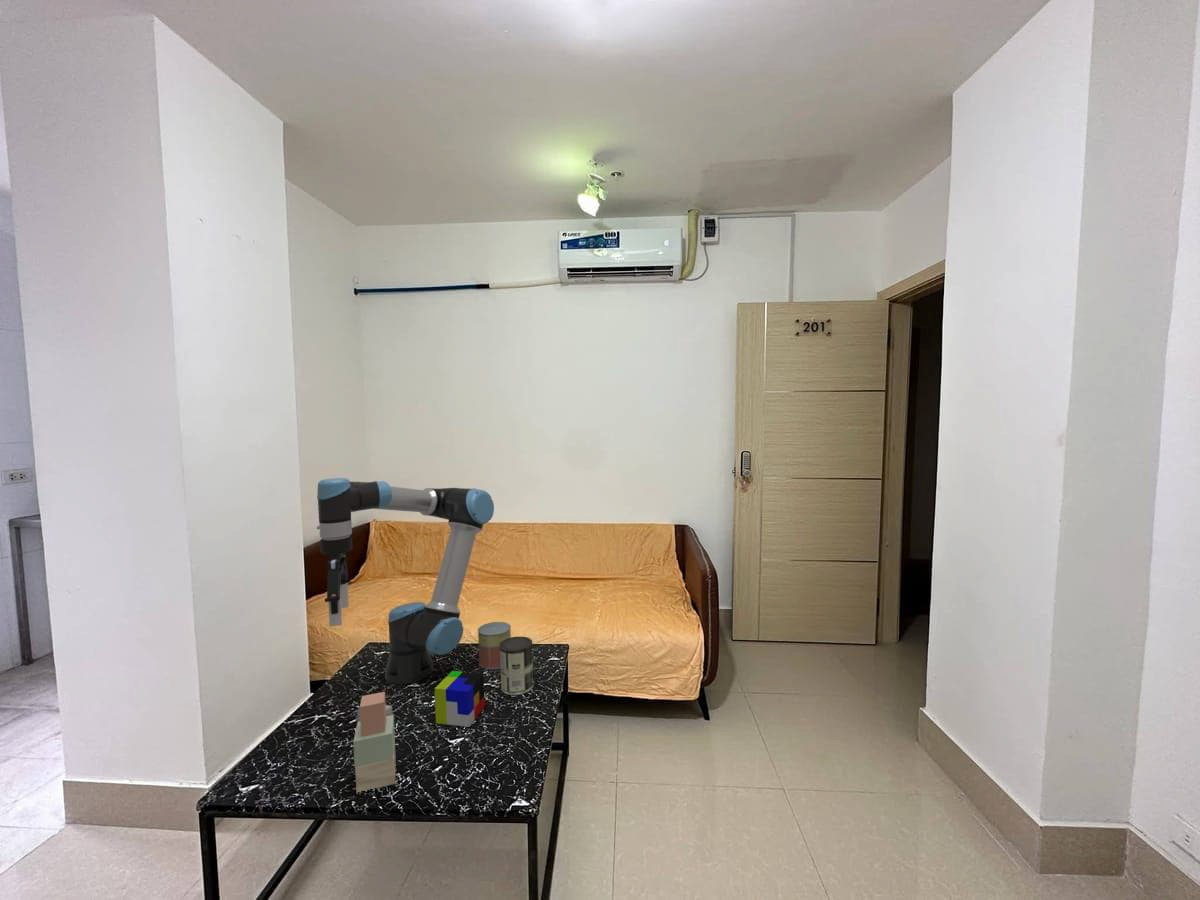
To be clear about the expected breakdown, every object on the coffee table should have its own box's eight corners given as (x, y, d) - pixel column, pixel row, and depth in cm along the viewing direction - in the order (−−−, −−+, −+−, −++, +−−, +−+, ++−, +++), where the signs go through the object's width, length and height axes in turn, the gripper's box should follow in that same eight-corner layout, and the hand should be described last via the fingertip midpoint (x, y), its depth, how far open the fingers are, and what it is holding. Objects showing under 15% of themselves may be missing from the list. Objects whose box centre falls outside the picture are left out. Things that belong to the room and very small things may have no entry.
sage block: (358, 746, 118) (357, 722, 118) (394, 738, 121) (393, 714, 121) (354, 767, 111) (353, 741, 111) (393, 758, 114) (391, 733, 113)
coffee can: (524, 675, 163) (523, 633, 162) (539, 688, 154) (537, 644, 154) (495, 684, 157) (494, 641, 157) (508, 699, 149) (507, 653, 148)
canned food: (507, 651, 181) (506, 619, 180) (515, 664, 170) (514, 630, 170) (476, 658, 176) (474, 625, 175) (482, 672, 166) (481, 637, 165)
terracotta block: (363, 724, 117) (362, 696, 117) (386, 720, 119) (385, 691, 118) (361, 736, 112) (359, 707, 112) (384, 731, 114) (383, 702, 114)
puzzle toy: (469, 727, 135) (467, 691, 135) (435, 723, 137) (434, 688, 137) (484, 706, 145) (483, 673, 144) (453, 703, 147) (452, 670, 147)
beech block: (359, 771, 118) (358, 747, 118) (395, 762, 121) (394, 738, 121) (356, 793, 111) (355, 768, 111) (394, 783, 114) (393, 758, 114)
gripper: (327, 529, 140) (331, 602, 141) (310, 548, 117) (314, 636, 118) (356, 527, 143) (360, 599, 144) (345, 545, 120) (349, 631, 121)
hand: (339, 616), depth 131 cm, fingers open, 13 cm apart
